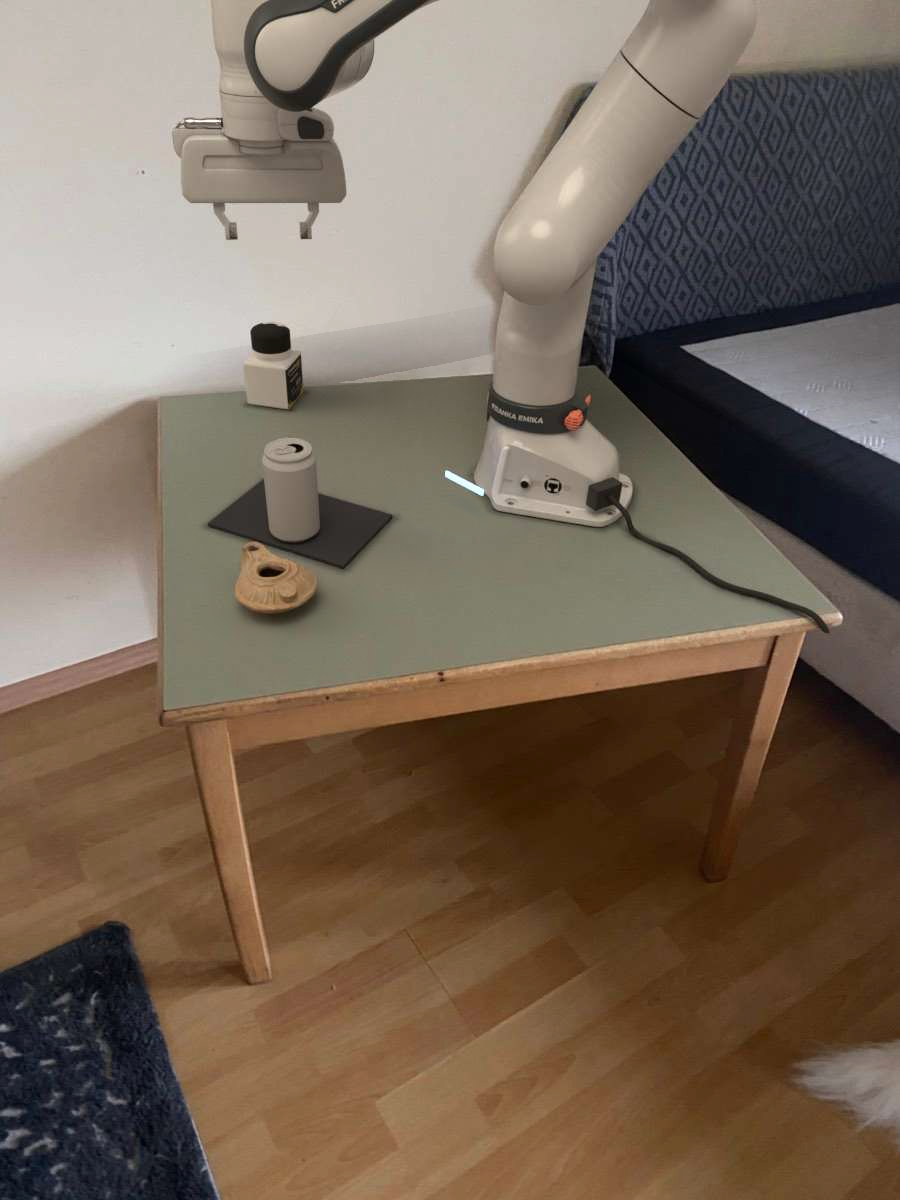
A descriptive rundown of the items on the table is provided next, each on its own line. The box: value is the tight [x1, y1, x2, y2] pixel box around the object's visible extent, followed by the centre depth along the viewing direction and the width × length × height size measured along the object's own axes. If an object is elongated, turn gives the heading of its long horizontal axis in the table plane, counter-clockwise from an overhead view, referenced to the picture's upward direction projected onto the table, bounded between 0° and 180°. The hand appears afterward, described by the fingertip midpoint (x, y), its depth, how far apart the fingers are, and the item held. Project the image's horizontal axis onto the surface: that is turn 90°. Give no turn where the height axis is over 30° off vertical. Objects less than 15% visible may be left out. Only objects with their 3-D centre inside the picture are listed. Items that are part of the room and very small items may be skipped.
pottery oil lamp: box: [234, 541, 319, 614], centre depth 100 cm, size 9×12×7 cm
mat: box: [207, 478, 393, 570], centre depth 114 cm, size 20×13×1 cm, turn 66°
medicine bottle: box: [242, 321, 304, 410], centre depth 138 cm, size 7×7×12 cm
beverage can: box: [261, 437, 320, 543], centre depth 108 cm, size 6×6×12 cm
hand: (269, 238), depth 113 cm, fingers open, 8 cm apart
